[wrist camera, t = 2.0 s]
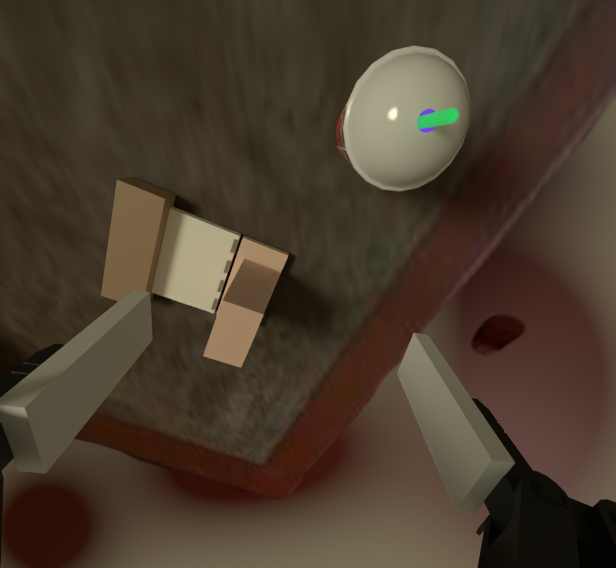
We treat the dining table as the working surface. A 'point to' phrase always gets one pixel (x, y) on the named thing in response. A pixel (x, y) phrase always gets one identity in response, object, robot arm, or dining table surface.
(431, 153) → the smoothie
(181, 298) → the base
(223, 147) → the dining table surface
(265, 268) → the stub
